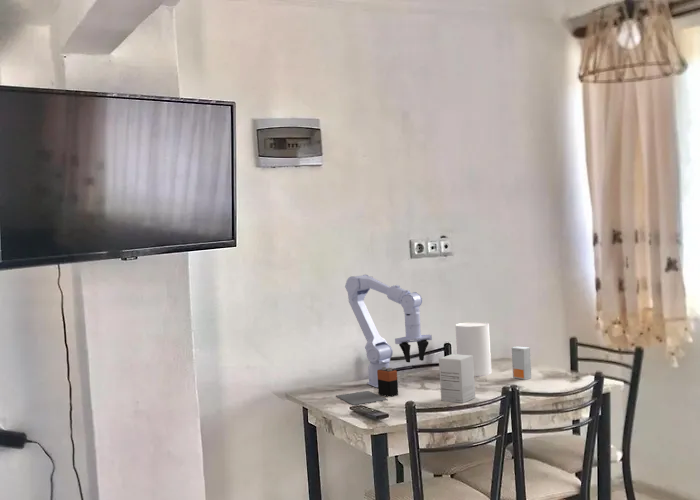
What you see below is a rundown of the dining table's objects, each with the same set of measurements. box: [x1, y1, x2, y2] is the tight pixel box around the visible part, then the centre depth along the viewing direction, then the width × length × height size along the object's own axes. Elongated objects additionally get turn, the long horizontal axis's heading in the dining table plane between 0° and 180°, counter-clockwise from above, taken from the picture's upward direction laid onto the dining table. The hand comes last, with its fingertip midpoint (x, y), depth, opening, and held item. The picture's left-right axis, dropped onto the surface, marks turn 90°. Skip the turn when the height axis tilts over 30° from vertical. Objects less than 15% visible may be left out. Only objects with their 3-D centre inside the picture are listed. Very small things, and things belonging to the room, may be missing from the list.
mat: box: [335, 390, 388, 406], centre depth 261 cm, size 17×13×1 cm
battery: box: [377, 367, 399, 397], centre depth 265 cm, size 4×7×10 cm, turn 36°
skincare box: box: [511, 345, 532, 381], centre depth 281 cm, size 6×4×12 cm
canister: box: [455, 321, 492, 377], centre depth 296 cm, size 14×14×20 cm
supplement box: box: [438, 353, 476, 404], centre depth 251 cm, size 9×9×15 cm
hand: (414, 361), depth 272 cm, fingers open, 5 cm apart
